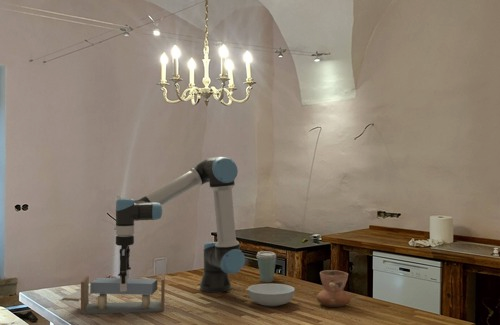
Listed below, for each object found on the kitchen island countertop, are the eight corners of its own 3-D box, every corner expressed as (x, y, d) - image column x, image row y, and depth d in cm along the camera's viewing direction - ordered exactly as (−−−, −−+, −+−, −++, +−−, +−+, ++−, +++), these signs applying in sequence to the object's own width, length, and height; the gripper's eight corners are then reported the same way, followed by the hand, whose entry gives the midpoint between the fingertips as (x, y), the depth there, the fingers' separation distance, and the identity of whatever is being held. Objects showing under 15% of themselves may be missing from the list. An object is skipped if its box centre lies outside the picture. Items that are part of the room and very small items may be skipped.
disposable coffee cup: (280, 280, 272) (280, 252, 272) (267, 284, 264) (268, 254, 264) (265, 277, 279) (265, 250, 279) (252, 281, 270) (252, 252, 271)
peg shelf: (85, 306, 221) (85, 275, 221) (164, 303, 226) (164, 273, 226) (80, 314, 209) (80, 282, 209) (164, 311, 214) (164, 279, 214)
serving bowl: (299, 300, 233) (299, 284, 233) (287, 312, 213) (287, 295, 213) (256, 296, 240) (256, 281, 240) (240, 307, 220) (240, 291, 220)
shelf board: (98, 288, 223) (98, 277, 223) (157, 289, 221) (157, 279, 221) (90, 293, 214) (90, 282, 214) (151, 294, 212) (152, 283, 212)
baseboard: (58, 300, 232) (78, 302, 230) (58, 294, 232) (78, 295, 230) (90, 285, 261) (109, 286, 259) (91, 279, 261) (109, 280, 259)
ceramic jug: (348, 311, 215) (349, 277, 215) (314, 308, 219) (314, 274, 219) (351, 301, 232) (352, 269, 233) (319, 298, 236) (320, 267, 236)
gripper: (118, 232, 228) (118, 282, 228) (112, 239, 206) (112, 295, 206) (135, 231, 229) (135, 281, 229) (131, 239, 207) (131, 294, 207)
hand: (124, 288), depth 217 cm, fingers closed on shelf board, 10 cm apart
